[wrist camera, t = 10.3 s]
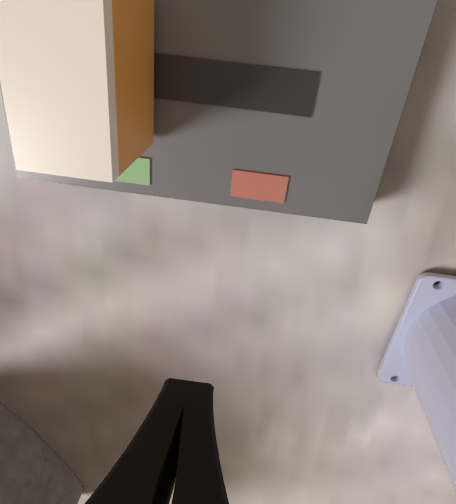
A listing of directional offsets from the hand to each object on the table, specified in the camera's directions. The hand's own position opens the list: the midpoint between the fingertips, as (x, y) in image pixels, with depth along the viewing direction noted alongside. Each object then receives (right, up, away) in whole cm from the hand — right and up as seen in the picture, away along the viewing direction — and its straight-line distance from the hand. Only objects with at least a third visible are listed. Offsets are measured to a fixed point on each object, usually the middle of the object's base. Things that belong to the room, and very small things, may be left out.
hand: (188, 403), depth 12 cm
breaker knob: (-3, +11, +3) cm, 12 cm away
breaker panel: (0, +12, +5) cm, 13 cm away
